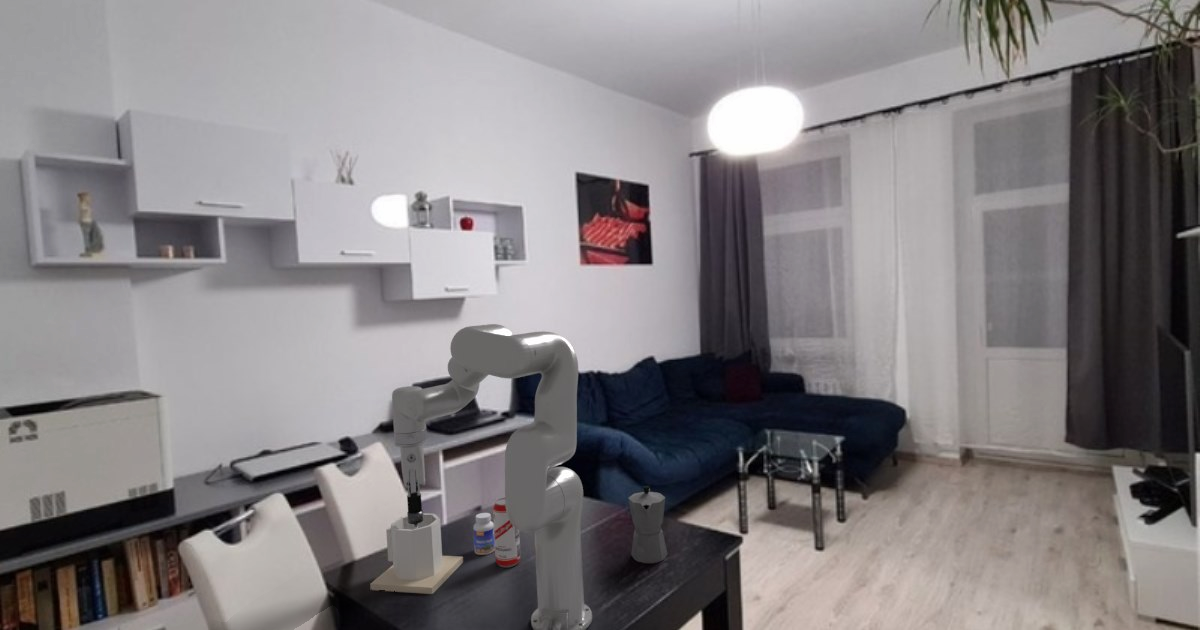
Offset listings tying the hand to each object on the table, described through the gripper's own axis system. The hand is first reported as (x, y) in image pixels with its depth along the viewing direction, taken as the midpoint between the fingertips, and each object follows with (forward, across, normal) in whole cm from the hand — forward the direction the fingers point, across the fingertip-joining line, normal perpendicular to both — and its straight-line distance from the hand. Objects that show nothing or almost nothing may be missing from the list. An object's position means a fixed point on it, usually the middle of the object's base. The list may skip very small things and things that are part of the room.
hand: (415, 511), depth 143 cm
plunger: (+14, 0, 0) cm, 14 cm away
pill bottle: (+16, +8, -17) cm, 25 cm away
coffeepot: (+16, -12, -57) cm, 60 cm away
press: (+16, 0, 0) cm, 16 cm away
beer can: (+16, -2, -22) cm, 27 cm away
